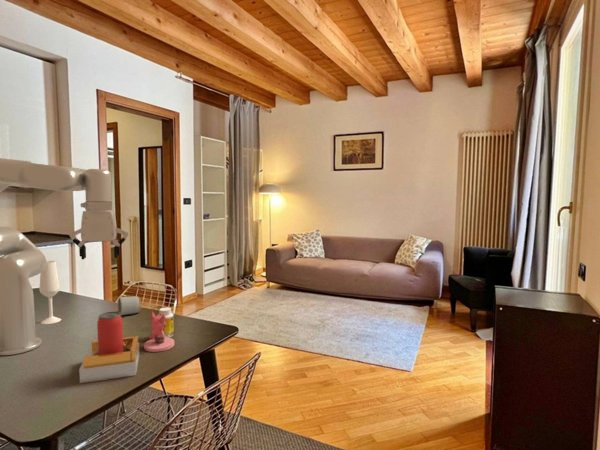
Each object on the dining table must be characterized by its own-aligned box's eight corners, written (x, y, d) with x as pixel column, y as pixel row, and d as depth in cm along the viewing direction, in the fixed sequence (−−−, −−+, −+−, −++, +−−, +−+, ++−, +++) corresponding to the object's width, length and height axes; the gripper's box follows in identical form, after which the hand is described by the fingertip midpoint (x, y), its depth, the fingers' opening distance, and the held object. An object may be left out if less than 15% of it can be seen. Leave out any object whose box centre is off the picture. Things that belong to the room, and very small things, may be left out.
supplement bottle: (173, 338, 130) (173, 310, 129) (157, 340, 128) (156, 312, 127) (173, 332, 135) (173, 305, 134) (157, 334, 133) (157, 307, 132)
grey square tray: (79, 383, 99) (79, 360, 98) (89, 360, 112) (89, 340, 111) (135, 375, 104) (135, 353, 103) (139, 354, 117) (138, 335, 116)
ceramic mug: (141, 314, 154) (141, 296, 154) (120, 318, 149) (120, 299, 149) (136, 308, 163) (136, 291, 162) (116, 311, 158) (115, 294, 157)
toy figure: (180, 343, 126) (180, 309, 125) (159, 354, 117) (158, 318, 116) (159, 338, 130) (158, 305, 129) (137, 348, 121) (136, 313, 120)
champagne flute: (53, 324, 141) (50, 263, 139) (36, 323, 141) (33, 263, 139) (65, 318, 148) (62, 260, 146) (48, 317, 148) (46, 260, 146)
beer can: (113, 360, 104) (111, 319, 102) (93, 357, 105) (91, 317, 104) (128, 350, 110) (127, 311, 109) (109, 348, 111) (108, 310, 110)
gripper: (65, 207, 113) (67, 261, 114) (126, 207, 118) (127, 259, 120) (71, 206, 120) (73, 257, 121) (129, 206, 126) (129, 255, 127)
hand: (100, 258), depth 121 cm, fingers open, 9 cm apart
